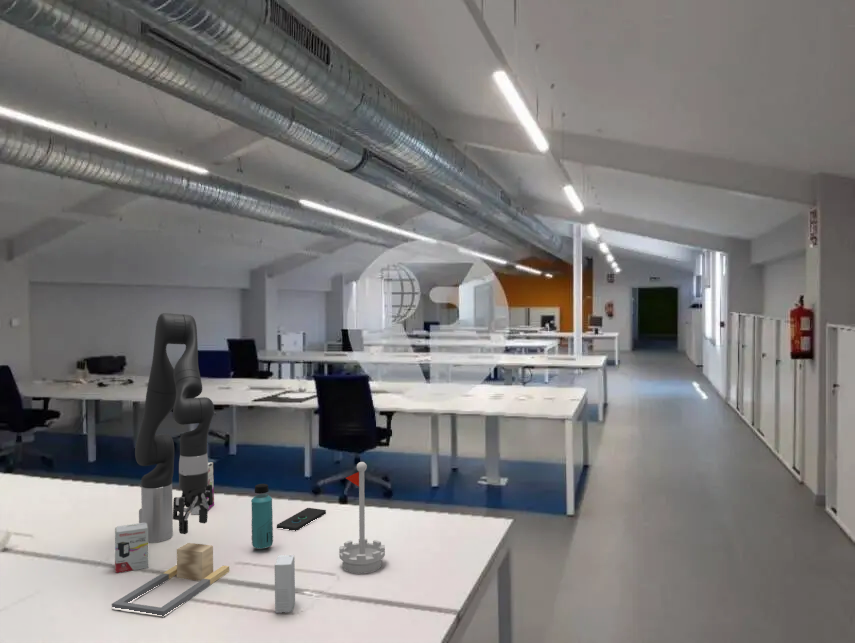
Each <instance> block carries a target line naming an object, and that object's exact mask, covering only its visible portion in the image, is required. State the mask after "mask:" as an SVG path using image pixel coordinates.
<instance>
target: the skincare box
mask: <svg viewBox="0 0 855 643" xmlns="http://www.w3.org/2000/svg"><path fill="white" fill-rule="evenodd" d="M295 561H296V560H295V555H294V554H284V555H283V554H282V555H281V554H280V555H277V557H276V560H275V563H274V613H276V614H280V613H281V614H282V612H285V613H293V610H294V606H295V602H296V585H295V584H296V578H295V577H296V576H295V575H296V572H295Z"/></svg>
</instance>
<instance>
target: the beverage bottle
mask: <svg viewBox="0 0 855 643" xmlns="http://www.w3.org/2000/svg"><path fill="white" fill-rule="evenodd" d="M269 491H270V490H269V485H268V484H267V483H258V484H256V485H255V486H254V494H256V495H255V496H254V497H252V498H251V501H250V502H251V545H252V548H255V549H266V548H269V547H271V546H272V545H273V544H274V543H273V542H274V528H273V524H274V521H273V498H272V496H271V495H269V494H267V493H268V492H269Z"/></svg>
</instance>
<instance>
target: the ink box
mask: <svg viewBox="0 0 855 643" xmlns="http://www.w3.org/2000/svg"><path fill="white" fill-rule="evenodd" d="M143 568H144V569H148V568H149V542H148V525H147V523H139V522H138V523H132V524H123V525H118V526H116V527H114V571H115V573H116V574H119V572H121V573H126V572H125V571H127V572H131V571H138V570H143Z"/></svg>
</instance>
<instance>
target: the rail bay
mask: <svg viewBox="0 0 855 643" xmlns="http://www.w3.org/2000/svg"><path fill="white" fill-rule="evenodd" d="M228 573H230V566H229V565H222V566H220V567H218V568H217V569H215V570H213V573H211V574H210V575H208V576H207V577H205V578H204V579H202V580H201V581H198V582H196V583H195V584H194V585H192V586H191V587H189V588H187V589H186V590H184V591H183V592H182V593H181V594H178V595H177V596H176V597H174V598H173V599H171V600H170V601H168V602H167V603H166V604H164V605H162V606H161V607H160V606H153V605H145V604H140V603H133V602H132V603H128V602H130V601H132V600H133V599H135V598H137V597H138V596H140V595H142V594H144V593H146V592H147V591H149V590H151V589H153V588H154V587H156V586H158V585H159V586H161V585H162V584H163V582H164V583H165V581H166V582H167V581H169V580H171V578H174V577H175V576H177V564H175V565H174V566H172V567H171V568H169V569H167V570H166V571H164V572H162V573H161V574H159V575H157V576H155V577H154V578H152V579H150V580H149V581H147V582H145V583H144V584H142V585H141V586H139V587H137V588H136V589H134V590H132V591H131V592H129V593H127V594H126V595H124V596H122V597H121V598H119V599H117V600H116V601H114V602H112V603H111V608H112V607H115V608H121V609H129V610H134V611H140V612H146V613H152V614H157V615H162V616H164V615H165V614H167V613H168V612H170V611H171V610H173V609H174V608H176V607H178V606H179V605H181V604H182V603H184V602H185V603H186V601H187V600H188V601H190V600H191V599H193V598H194V597H195V596H197V595H198V594H199V592H200V593H201V592H202V591H204V590H205V589H206V588H208V587H209V586H211V585H212V584H214V583H215V582H216V581H218V580H219V579H221V578H222V577H224V576H225V575H226V574H228ZM160 584H161V585H160ZM159 586H158V587H159ZM156 588H157V587H156ZM154 589H155V588H154ZM154 589H153V590H154ZM151 591H152V590H151ZM146 594H147V593H146ZM196 594H197V595H196ZM193 596H194V597H193ZM190 598H191V599H190ZM189 599H190V600H189ZM188 601H187V602H188ZM185 603H184V604H185ZM182 605H183V604H182ZM182 605H181V606H182ZM178 608H179V607H178Z"/></svg>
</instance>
